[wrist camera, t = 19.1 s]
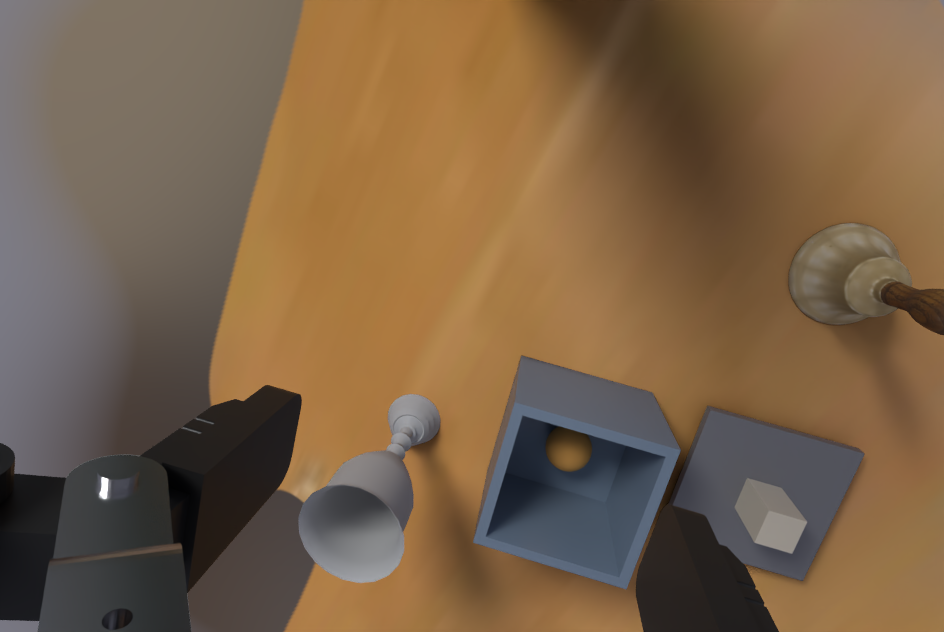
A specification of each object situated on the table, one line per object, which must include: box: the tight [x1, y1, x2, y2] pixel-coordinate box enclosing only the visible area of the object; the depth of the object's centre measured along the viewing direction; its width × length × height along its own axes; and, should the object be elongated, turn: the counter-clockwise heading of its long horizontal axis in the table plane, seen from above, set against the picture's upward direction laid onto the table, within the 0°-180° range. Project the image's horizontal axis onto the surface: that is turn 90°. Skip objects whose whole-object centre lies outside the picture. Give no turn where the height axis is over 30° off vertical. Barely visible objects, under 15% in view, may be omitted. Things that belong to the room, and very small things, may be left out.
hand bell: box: [788, 223, 944, 335], centre depth 38 cm, size 8×8×16 cm
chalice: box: [299, 394, 440, 583], centre depth 45 cm, size 7×7×18 cm
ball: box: [545, 426, 592, 472], centre depth 50 cm, size 4×4×4 cm
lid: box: [669, 406, 864, 581], centre depth 48 cm, size 13×13×7 cm
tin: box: [473, 355, 681, 589], centre depth 47 cm, size 12×12×11 cm
